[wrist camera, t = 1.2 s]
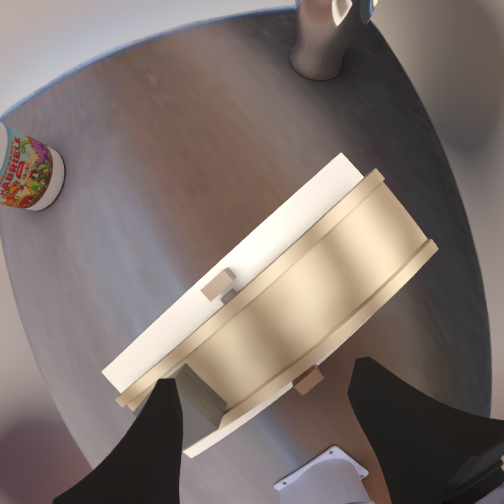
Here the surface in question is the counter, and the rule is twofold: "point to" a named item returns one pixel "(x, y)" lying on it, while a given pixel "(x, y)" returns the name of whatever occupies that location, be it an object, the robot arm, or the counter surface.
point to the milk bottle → (28, 171)
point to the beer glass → (327, 34)
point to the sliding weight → (195, 406)
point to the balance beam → (300, 302)
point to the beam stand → (239, 288)
